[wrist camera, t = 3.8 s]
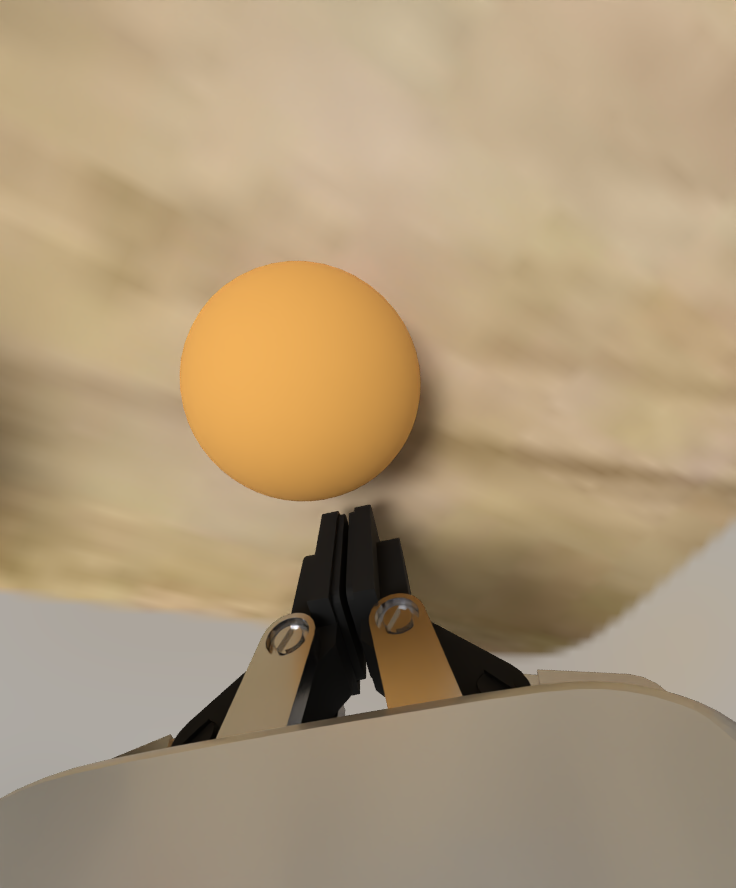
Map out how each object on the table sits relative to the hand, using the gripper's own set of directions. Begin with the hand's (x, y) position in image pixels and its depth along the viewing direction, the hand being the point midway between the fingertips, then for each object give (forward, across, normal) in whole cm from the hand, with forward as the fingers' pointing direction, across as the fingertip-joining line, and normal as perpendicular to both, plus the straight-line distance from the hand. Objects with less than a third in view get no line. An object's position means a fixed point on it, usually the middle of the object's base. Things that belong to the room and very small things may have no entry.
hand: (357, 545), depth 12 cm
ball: (-1, 0, -6) cm, 6 cm away
